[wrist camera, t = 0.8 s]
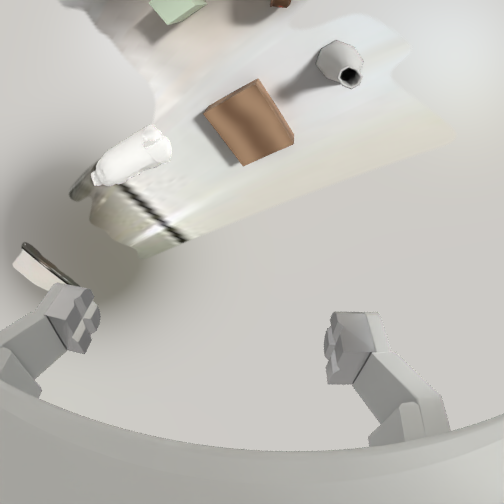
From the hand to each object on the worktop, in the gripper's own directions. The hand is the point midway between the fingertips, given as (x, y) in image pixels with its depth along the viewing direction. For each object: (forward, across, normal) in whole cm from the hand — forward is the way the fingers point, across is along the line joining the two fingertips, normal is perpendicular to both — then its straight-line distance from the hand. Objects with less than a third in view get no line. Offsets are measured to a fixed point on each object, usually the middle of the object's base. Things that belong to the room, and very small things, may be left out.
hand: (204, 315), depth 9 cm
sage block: (+41, +12, -19) cm, 47 cm away
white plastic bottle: (+49, +25, +9) cm, 56 cm away
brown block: (+46, +1, +2) cm, 46 cm away
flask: (+42, -12, -10) cm, 45 cm away
